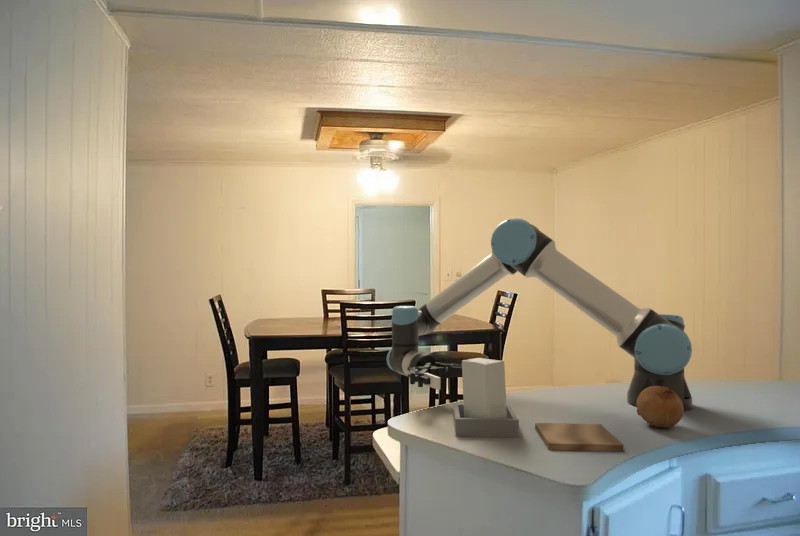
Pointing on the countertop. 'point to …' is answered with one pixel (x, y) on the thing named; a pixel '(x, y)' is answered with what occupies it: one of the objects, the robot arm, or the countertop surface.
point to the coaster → (577, 437)
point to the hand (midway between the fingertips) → (464, 381)
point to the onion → (660, 406)
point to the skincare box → (484, 388)
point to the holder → (485, 424)
